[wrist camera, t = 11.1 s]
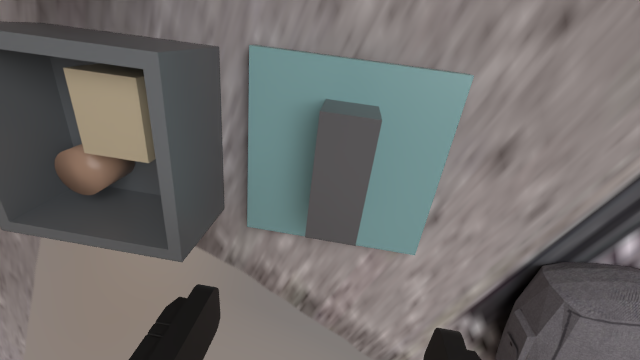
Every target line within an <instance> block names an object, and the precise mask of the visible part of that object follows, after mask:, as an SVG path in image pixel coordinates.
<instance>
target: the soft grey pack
mask: <svg viewBox="0 0 640 360" xmlns="http://www.w3.org/2000/svg"><path fill="white" fill-rule="evenodd" d="M496 360H640V269H637V268H633V267H628V266H619V265H610V264H600V263H564V262H563V263H557V264H551V265H545V266H542V267H541V269H540V270H539V271H538V273H537V274H536V275H535V277H534V278H533V279H532V280H531V282H530V283H529V284H528V286H527V287H526V288H525V290H524V291H523V292H522V294H521V295H520V296H519V297H518V299H517V300H516V301H515V304H514V306H513V309H512V311H511V314H510V316H509V319H508V321H507V323H506V326H505V328H504V331H503V334H502V337H501V341H500V344H499V347H498V350H497V354H496Z"/></svg>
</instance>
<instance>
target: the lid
mask: <svg viewBox="0 0 640 360" xmlns="http://www.w3.org/2000/svg"><path fill="white" fill-rule="evenodd" d="M473 77H474V76H473V75H470V74H465V73H458V72H450V71H443V70H436V69H428V68H421V67H414V66H406V65H399V64H392V63H384V62H377V61H370V60H362V59H355V58H348V57H340V56H333V55H326V54H318V53H311V52H304V51H296V50H289V49H282V48H274V47H267V46H259V45H249V116H248V203H247V227H253V228H259V229H264V230H270V231H276V232H282V233H288V234H294V235H300V236H305V237H308V238H313V239H319V240H325V241H331V242H337V243H343V244H348V245H354V246H356V245H358V246H364V247H370V248H376V249H382V250H387V251H393V252H399V253H405V254H411V255H415V253H416V250H417V247H418V244H419V241H420V238H421V235H422V232H423V229H424V226H425V223H426V220H427V217H428V214H429V211H430V208H431V205H432V202H433V199H434V196H435V193H436V190H437V186H438V183H439V180H440V177H441V174H442V171H443V168H444V165H445V162H446V159H447V156H448V153H449V150H450V147H451V144H452V141H453V138H454V135H455V132H456V129H457V126H458V123H459V120H460V117H461V114H462V111H463V108H464V105H465V102H466V99H467V96H468V93H469V90H470V86H471V83H472V80H473Z"/></svg>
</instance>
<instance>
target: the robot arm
mask: <svg viewBox="0 0 640 360" xmlns="http://www.w3.org/2000/svg"><path fill="white" fill-rule="evenodd" d="M219 320H220V302H219V290H218V288H216V287H210V286H205V285H199V284H198V285H196V286H195V287H194V289H193V290H192V292H191V293H190V295H189V297H188V298H182V297H178V298H177V299H176V300H174V301H173V302H172V303H171V304H169V305H168V306H167V307H166V308H165V309H164V310H163V312H162V313H161V315H160V316H159V317H158V319H157V320H156V323H155V324H154V325H153V326H152V327H151V329H150V330H149V332H148V335H146V336H145V337H144V339H143V340H142V342H141V343H140V345H139V346H138V348H137V349H136V350H135V352H134V353H133V355H132V356H131V357H130V359H129V360H203V358H204V356H205V354H206V352H207V350H208V348H209V345H210V344H211V341H212V340H213V337H214V335H215V333H216V331H217V328H218V324H219ZM424 360H481V359H480V357H479V356H478V355H477V353H476V352H475V351H470V350H467V349H466V346H465V343H464V340H463V337H462V335H461V333H460V332H458V331H453V330H448V329H442V328H436V329H435V331H434V333H433V335H432V337H431V340H430V342H429V344H428V347H427V349H426V351H425V354H424Z"/></svg>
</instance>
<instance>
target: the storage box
mask: <svg viewBox="0 0 640 360" xmlns="http://www.w3.org/2000/svg"><path fill="white" fill-rule="evenodd" d="M223 210H224V184H223V154H222V123H221V93H220V62H219V47H218V46H210V45H203V44H195V43H188V42H180V41H173V40H165V39H158V38H150V37H143V36H135V35H128V34H120V33H113V32H105V31H98V30H90V29H83V28H75V27H68V26H60V25H53V24H45V23H29V22H0V227H1V229H2V230H4V231H10V232H16V233H21V234H27V235H32V236H38V237H45V238H49V239H55V240H60V241H67V242H72V243H78V244H83V245H88V246H94V247H100V248H105V249H111V250H117V251H122V252H128V253H134V254H139V255H144V256H150V257H156V258H161V259H167V260H172V261H178V262H183V261H184V259H185V258H186V257H187V255H188V254H189V253H190V251H191V250H192V249H193V248H194V247H195V245H196V244H197V243H198V241H199V240H200V239H201V238H202V236H203V235H204V234H205V233H206V231H207V230H208V229H209V227H210V226H211V225H212V224H213V222H214V221H215V220H216V218H217V217H218V216H219V215H220V213H221V212H222V211H223Z"/></svg>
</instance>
